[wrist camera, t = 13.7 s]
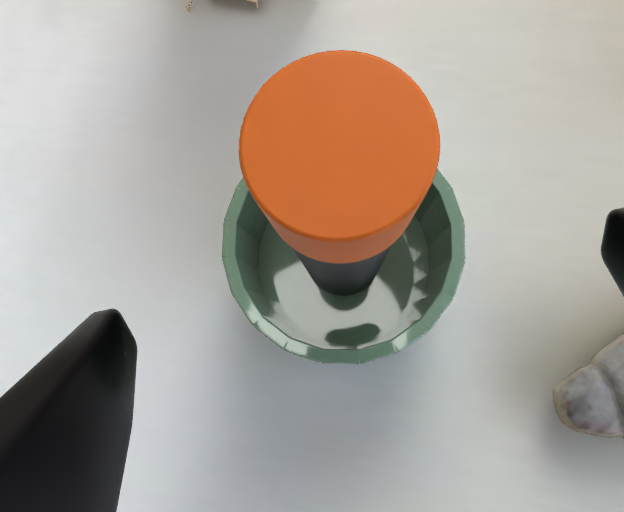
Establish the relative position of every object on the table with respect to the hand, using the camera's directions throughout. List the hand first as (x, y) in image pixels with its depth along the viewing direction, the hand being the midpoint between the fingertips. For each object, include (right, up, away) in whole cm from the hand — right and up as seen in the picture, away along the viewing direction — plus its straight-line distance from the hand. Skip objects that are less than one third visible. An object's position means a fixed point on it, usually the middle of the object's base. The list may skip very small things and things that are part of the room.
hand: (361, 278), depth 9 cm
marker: (0, 0, +12) cm, 12 cm away
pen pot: (0, 0, +12) cm, 12 cm away
